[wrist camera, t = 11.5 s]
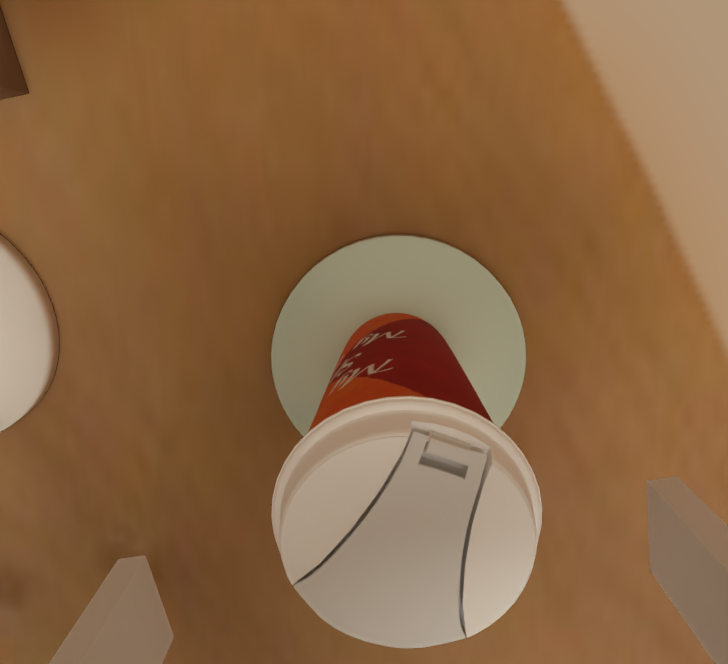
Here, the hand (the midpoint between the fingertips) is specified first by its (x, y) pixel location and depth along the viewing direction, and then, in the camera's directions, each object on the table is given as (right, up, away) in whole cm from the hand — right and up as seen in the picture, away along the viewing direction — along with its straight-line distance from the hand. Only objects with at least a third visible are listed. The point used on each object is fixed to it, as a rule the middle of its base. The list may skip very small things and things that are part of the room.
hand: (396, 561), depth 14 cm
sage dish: (+1, +5, +15) cm, 15 cm away
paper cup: (+1, +4, +14) cm, 14 cm away
